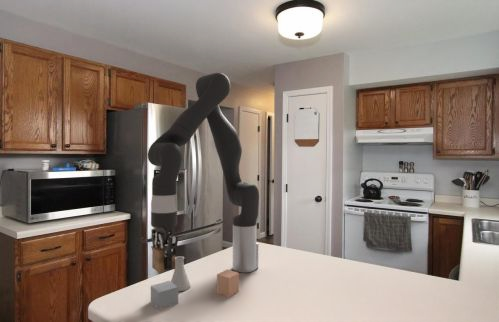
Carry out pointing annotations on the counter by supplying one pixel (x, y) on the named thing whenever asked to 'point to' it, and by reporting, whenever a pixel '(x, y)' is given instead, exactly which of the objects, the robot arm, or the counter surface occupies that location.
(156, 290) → the grey base block
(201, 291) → the counter surface
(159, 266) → the walnut cube
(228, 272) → the terracotta cube
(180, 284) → the flask
